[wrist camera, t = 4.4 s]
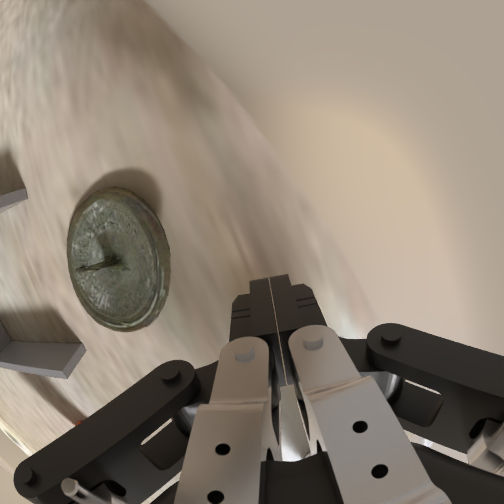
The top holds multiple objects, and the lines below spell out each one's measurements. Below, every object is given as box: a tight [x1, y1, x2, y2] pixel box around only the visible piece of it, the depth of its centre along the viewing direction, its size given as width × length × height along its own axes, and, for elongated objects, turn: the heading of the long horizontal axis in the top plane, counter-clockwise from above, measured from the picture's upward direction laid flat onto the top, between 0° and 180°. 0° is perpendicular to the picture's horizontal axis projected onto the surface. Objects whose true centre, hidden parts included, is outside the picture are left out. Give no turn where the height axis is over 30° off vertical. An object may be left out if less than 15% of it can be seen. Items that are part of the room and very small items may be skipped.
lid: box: [67, 187, 171, 332], centre depth 17 cm, size 11×10×5 cm
